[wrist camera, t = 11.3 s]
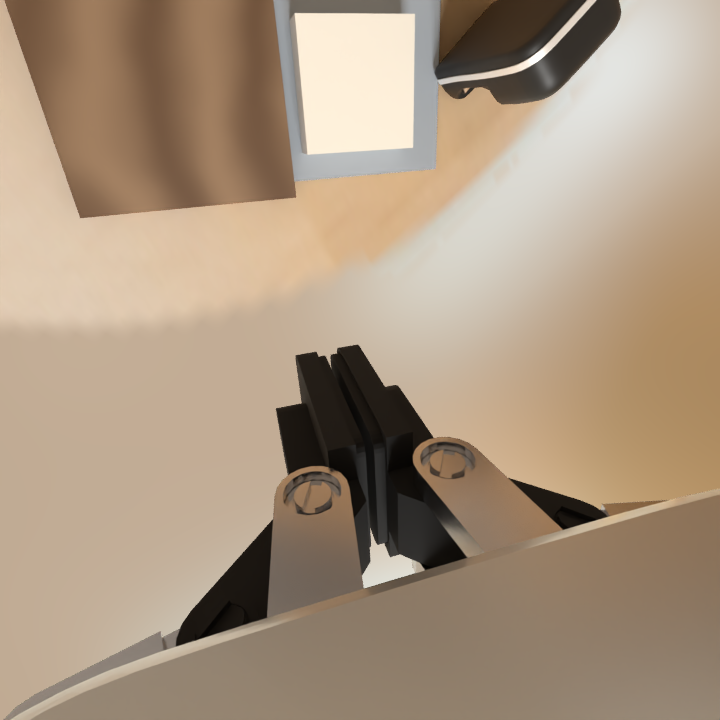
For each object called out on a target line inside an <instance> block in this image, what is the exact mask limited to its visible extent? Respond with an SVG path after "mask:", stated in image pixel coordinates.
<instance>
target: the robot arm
mask: <svg viewBox="0 0 720 720" xmlns="http://www.w3.org/2000/svg"><path fill="white" fill-rule="evenodd" d="M296 365H297V372H298V379H299V386H300V394H301V401H302V403H301V404H296V405H291V406H286V407H281V408H276V411H277V418H278V424H279V430H280V435H281V440H282V446H283V452H284V457H285V463H286V468H287V473H288V476H287V477H286V478H285V479H283V480H282V482H281V483H280V484H279V486H278V487H277V490H276V493H275V499H274V513H273V520H272V521H271V522H270V523H269V524H268V525H267V527H266V528H265V529H264V530H263V531H262V532H261V533H260V534H259V535H258V537H257V538H256V539H255V540H254V541H253V542H252V543H251V544H250V546H249V547H248V548H247V549H246V550H245V551H244V552H243V553H242V555H241V556H240V557H239V558H238V559H237V560H236V561H235V562H234V563H233V565H232V566H231V567H230V568H229V569H228V570H227V571H226V572H225V574H224V575H223V576H222V577H221V578H220V579H219V580H218V582H217V583H216V584H215V585H214V586H213V587H212V588H211V589H210V590H209V592H208V593H207V594H206V595H205V596H204V597H203V598H202V599H201V601H200V602H199V603H198V604H197V605H196V606H195V607H194V608H193V609H192V611H191V612H190V613H189V615H188V616H187V618H186V619H185V621H184V622H183V623H182V625H181V628H180V629H178V630H176V631H174V632H172V633H171V634H168V635H166V636H164V637H163V635H162V634H161V631H160V632H158V633H156V634H154V635H152V636H150V637H148V638H146V639H144V640H142V641H140V642H138V643H136V644H134V645H132V646H130V647H128V648H126V649H124V650H122V651H120V652H118V653H116V654H114V655H112V656H110V657H109V658H106V659H105V660H102V661H101V662H99V663H96V664H94V665H92V666H90V667H89V668H87V669H85V670H83V671H81V672H79V673H77V674H75V675H73V676H71V677H69V678H67V679H65V680H63V681H61V682H59V683H57V684H55V685H53V686H51V687H49V688H47V689H45V690H43V691H41V692H39V693H37V694H35V695H34V696H32V697H31V698H29V699H28V700H26V701H24V702H23V703H21V704H20V705H18V706H17V707H16V708H15V709H14V710H13V711H12V712H11V713H10V714H9V715H8V716H7V717H6V718H5V719H4V720H720V489H715V490H711V491H707V492H702V493H698V494H693V495H689V496H684V497H679V498H676V499H672V500H664V501H663V500H662V501H646V502H630V503H614V504H602V506H601V510H599V509H598V508H596V507H594V506H592V505H590V504H588V503H585V502H583V501H581V500H577V499H574V498H571V497H567V496H564V495H561V494H558V493H555V492H552V491H549V490H545V489H542V488H538V487H536V486H533V485H529V484H526V483H523V482H520V481H516V480H513V479H510V478H507V477H506V476H505V475H504V474H503V473H502V472H501V471H500V470H499V469H498V468H497V467H496V466H495V465H494V464H492V463H491V462H490V461H489V460H488V459H487V458H486V457H485V456H484V455H483V454H482V453H481V452H480V451H478V449H476V448H475V447H474V446H472V445H471V444H469V443H468V442H465V441H462V440H460V439H456V438H451V437H437V438H433V436H432V435H431V433H430V432H429V430H428V429H427V427H426V426H425V424H424V423H423V421H422V420H421V419H420V417H419V416H418V414H417V413H416V411H415V410H414V408H413V407H412V405H411V404H410V402H409V401H408V399H407V398H406V397H405V395H404V394H403V392H402V391H401V389H400V388H399V387H398V386H397V385H393V386H388V387H385V386H384V385H383V383H382V382H381V380H380V378H379V377H378V375H377V374H376V372H375V370H374V369H373V367H372V366H371V364H370V362H369V361H368V359H367V358H366V356H365V355H364V353H363V351H362V350H361V348H360V347H359V345H353V346H347V347H342V348H338V349H337V354H333V355H331V367H330V365H329V363H328V361H327V359H326V357H325V356H320V357H318V354H317V352H312V353H306V354H301V355H296ZM331 368H332V369H331ZM370 528H371V530H372V534H373V536H374V539H375V541H376V543H377V544H378V545H379V544H382V543H385V546H386V548H387V551H388V553H389V556H390V557H392V556H396V555H399V554H401V555H403V556H405V557H408V558H410V559H412V565H413V568H414V570H415V574H412V575H408V576H405V577H401V578H398V579H395V580H391V581H388V582H385V583H381V584H378V585H375V586H371V587H368V588H365V589H364V588H363V581H362V575H363V573H364V571H365V570H366V568H367V566H368V565H369V563H370V549H369V548H370V547H371V536H370Z"/></svg>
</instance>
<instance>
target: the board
mask: <svg viewBox="0 0 720 720" xmlns="http://www.w3.org/2000/svg"><path fill="white" fill-rule="evenodd" d="M5 3H6V6H7V9H8V12H9V14H10V17H11V20H12V23H13V26H14V29H15V32H16V35H17V37H18V40H19V43H20V46H21V49H22V52H23V55H24V58H25V60H26V63H27V66H28V69H29V72H30V75H31V78H32V80H33V83H34V86H35V89H36V92H37V95H38V98H39V101H40V103H41V106H42V109H43V112H44V115H45V118H46V121H47V124H48V126H49V129H50V132H51V135H52V138H53V141H54V144H55V147H56V149H57V152H58V155H59V158H60V161H61V164H62V167H63V170H64V172H65V175H66V178H67V181H68V184H69V187H70V190H71V192H72V195H73V198H74V201H75V204H76V207H77V210H78V213H79V215H80V218H87V217H97V216H108V215H118V214H128V213H139V212H149V211H160V210H170V209H180V208H191V207H201V206H212V205H222V204H232V203H243V202H253V201H264V200H274V199H284V198H295V197H296V191H295V183H294V174H293V165H292V157H291V148H290V139H289V131H288V122H287V113H286V105H285V96H284V88H283V79H282V70H281V62H280V53H279V44H278V36H277V27H276V18H275V10H274V1H273V0H5Z"/></svg>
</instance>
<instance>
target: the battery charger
mask: <svg viewBox="0 0 720 720" xmlns="http://www.w3.org/2000/svg"><path fill="white" fill-rule="evenodd" d="M620 16H621V8H620V4H619V0H498V1H495V2H493V3H492V4H491V5H490V6H489V8H488V9H487V10H486V11H485V12H484V13H483V14H482V15H481V17H480V18H479V19H478V20H477V21H476V22H475V23H474V25H473V26H472V27H471V28H470V29H469V30H468V31H467V33H466V34H465V35H464V36H463V37H462V38H461V40H460V41H459V42H458V43H457V44H456V45H455V46H454V48H453V49H452V50H451V51H450V52H449V53H448V55H447V56H446V57H445V58H444V59H443V60H442V62H441V63H440V64H439V65H438V66H437V67H436V69H435V71H434V73H435V76H436V78H437V82H438V83H439V85H442V87H443V88H444V90H445V91H446V92H447V93H448V94H449V95H450V96H451V97H453V98H455V99H462V98H464V97H466V96H467V95H468V94H469V93H470V92H471V91H472V90H473V89H474V88H477V87H483V88H486V89H488V90H490V92H491V93H492V95H493V96H494V98H495V99H496V100H497V102H499V103H501V104H520V103H527V102H533V101H538V100H542V99H545V98H547V97H549V96H551V95H553V94H554V93H556V92H557V91H558V90H559V89H560V88H561V87H562V86H563V85H564V84H565V83H566V82H567V81H568V80H569V79H570V78H571V77H572V76H573V75H574V74H575V73H576V72H577V71H578V70H579V68H580V67H581V66H582V65H583V64H584V63H585V62H586V61H587V60H588V59H589V58H590V57H591V56H592V54H593V53H594V52H595V51H596V50H597V49H598V48H599V47H600V46H601V44H602V43H603V42H604V41H605V40H606V39H607V38H608V37H609V36H610V34H611V33H612V32H613V31H614V30H615V28H616V26H617V24H618V22H619V20H620Z"/></svg>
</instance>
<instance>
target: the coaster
mask: <svg viewBox="0 0 720 720" xmlns="http://www.w3.org/2000/svg"><path fill="white" fill-rule="evenodd" d="M289 22H290V33H291V43H292V54H293V64H294V74H295V85H296V95H297V105H298V116H299V126H300V137H301V147H302V153H304V154H307V155H311V154H326V153H341V152H357V151H372V150H387V149H402V148H413V123H414V50H415V14H366V13H294V15H293V17H292V18H291V20H290V21H289Z"/></svg>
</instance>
